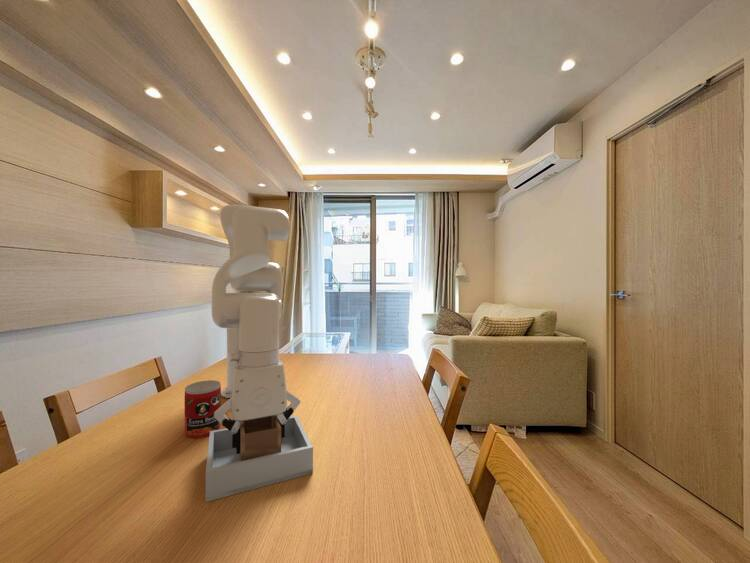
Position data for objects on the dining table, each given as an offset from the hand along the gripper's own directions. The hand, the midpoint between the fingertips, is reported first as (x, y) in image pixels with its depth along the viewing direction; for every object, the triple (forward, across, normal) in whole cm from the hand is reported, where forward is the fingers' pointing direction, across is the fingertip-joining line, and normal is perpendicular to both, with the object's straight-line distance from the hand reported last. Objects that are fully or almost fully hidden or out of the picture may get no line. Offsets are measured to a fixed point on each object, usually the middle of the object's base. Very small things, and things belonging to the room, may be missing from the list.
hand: (259, 445), depth 62 cm
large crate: (+4, 0, 0) cm, 4 cm away
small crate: (+1, 0, 0) cm, 1 cm away
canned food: (+4, -11, +20) cm, 23 cm away
